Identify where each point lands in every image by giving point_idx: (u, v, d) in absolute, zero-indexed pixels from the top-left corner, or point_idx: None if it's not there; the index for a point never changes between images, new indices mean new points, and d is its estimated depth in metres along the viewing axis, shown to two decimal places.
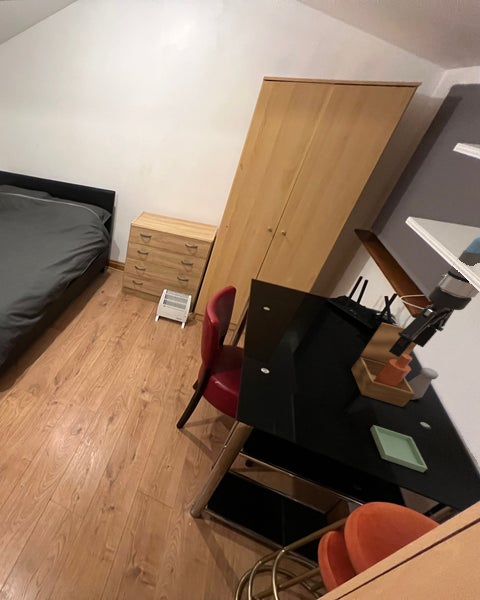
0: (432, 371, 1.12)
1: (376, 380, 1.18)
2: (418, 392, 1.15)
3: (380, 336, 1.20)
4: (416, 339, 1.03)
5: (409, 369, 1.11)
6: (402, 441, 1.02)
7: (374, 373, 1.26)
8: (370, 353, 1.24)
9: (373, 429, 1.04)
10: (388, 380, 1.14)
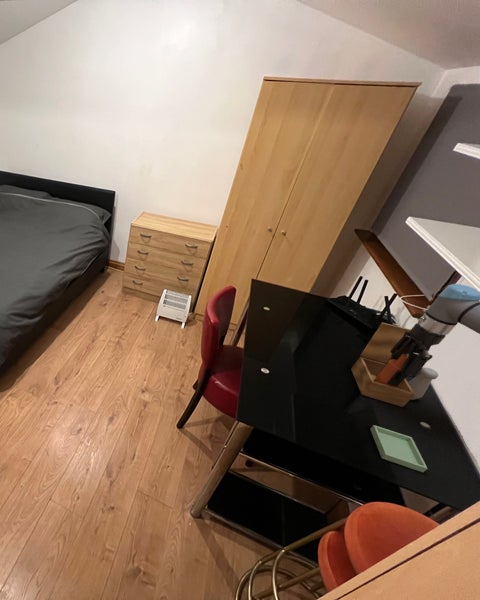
0: (432, 371, 1.12)
1: (376, 380, 1.18)
2: (418, 392, 1.15)
3: (380, 336, 1.20)
4: None
5: None
6: (402, 441, 1.02)
7: (374, 373, 1.26)
8: (370, 353, 1.24)
9: (373, 429, 1.04)
10: (388, 380, 1.14)
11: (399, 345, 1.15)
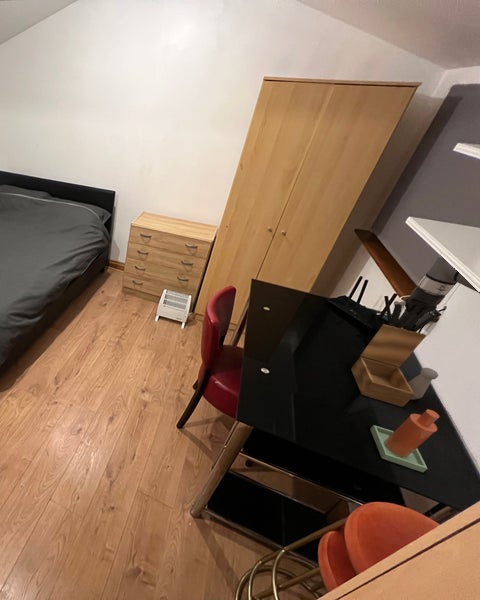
0: (432, 371, 1.12)
1: (393, 437, 0.98)
2: (418, 392, 1.15)
3: (381, 337, 1.20)
4: None
5: (435, 428, 0.91)
6: None
7: (374, 373, 1.26)
8: (370, 353, 1.24)
9: (373, 429, 1.04)
10: (409, 439, 0.94)
11: None
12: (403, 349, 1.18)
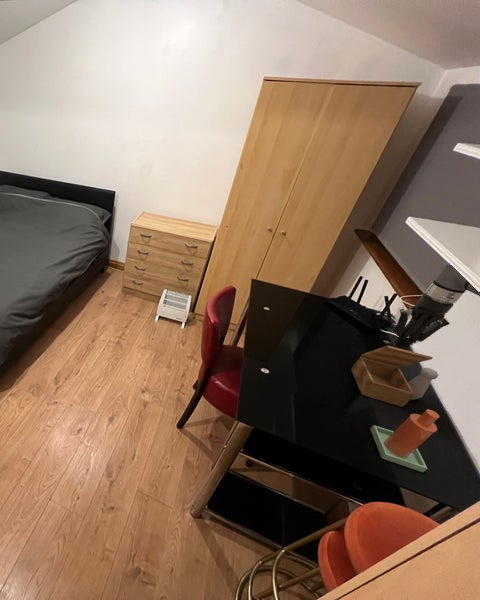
0: (432, 371, 1.12)
1: (393, 437, 0.98)
2: (418, 392, 1.15)
3: (383, 352, 1.16)
4: None
5: (435, 428, 0.91)
6: None
7: (374, 373, 1.26)
8: (370, 357, 1.23)
9: (373, 429, 1.04)
10: (409, 439, 0.94)
11: None
12: (405, 361, 1.16)
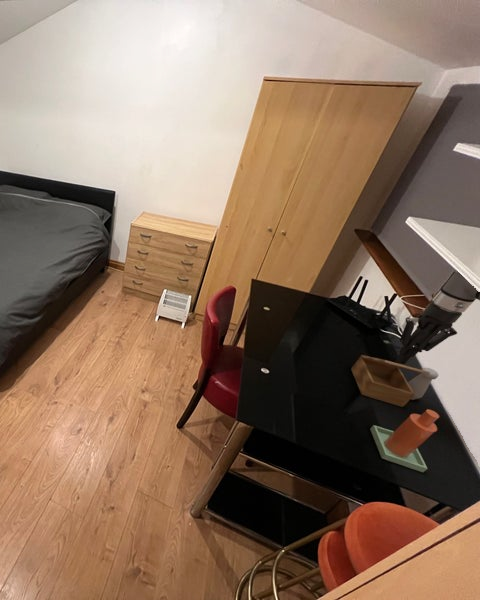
0: (432, 371, 1.12)
1: (393, 437, 0.98)
2: (418, 392, 1.15)
3: (381, 361, 1.16)
4: None
5: (435, 428, 0.91)
6: None
7: (374, 373, 1.26)
8: None
9: (373, 429, 1.04)
10: (409, 439, 0.94)
11: None
12: (404, 368, 1.16)
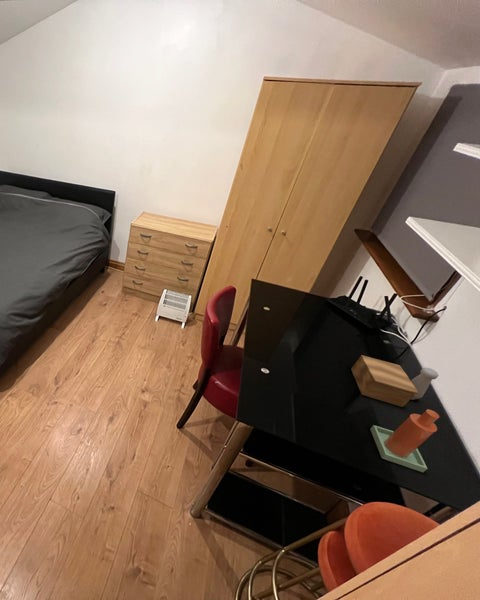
0: (432, 371, 1.12)
1: (393, 437, 0.98)
2: None
3: None
4: None
5: (435, 428, 0.91)
6: None
7: None
8: None
9: (373, 429, 1.04)
10: (409, 439, 0.94)
11: None
12: None
